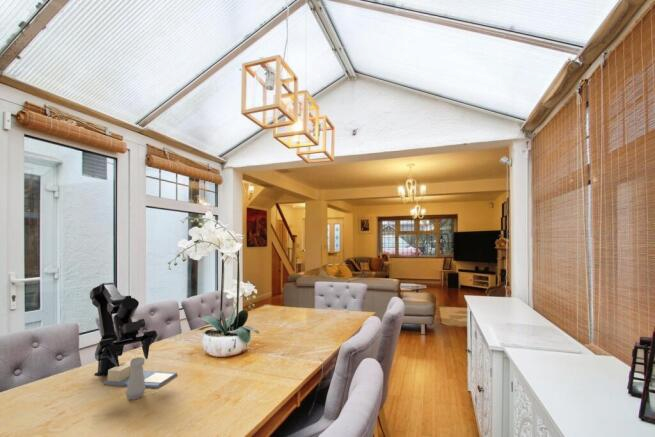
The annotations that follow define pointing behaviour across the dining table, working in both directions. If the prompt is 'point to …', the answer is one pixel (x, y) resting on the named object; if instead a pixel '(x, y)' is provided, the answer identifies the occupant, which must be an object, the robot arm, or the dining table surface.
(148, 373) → the board
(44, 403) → the dining table surface
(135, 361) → the salt shaker
